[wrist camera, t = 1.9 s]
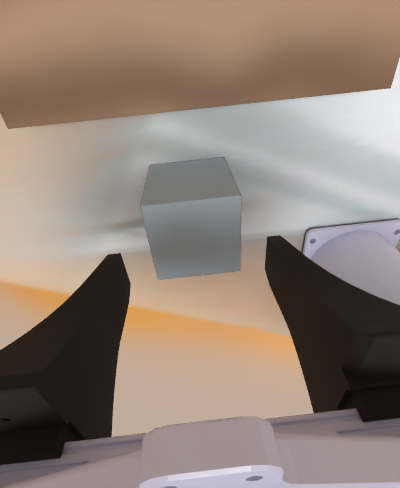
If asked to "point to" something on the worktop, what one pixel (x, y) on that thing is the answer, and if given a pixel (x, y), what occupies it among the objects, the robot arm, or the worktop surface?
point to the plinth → (186, 54)
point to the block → (192, 218)
